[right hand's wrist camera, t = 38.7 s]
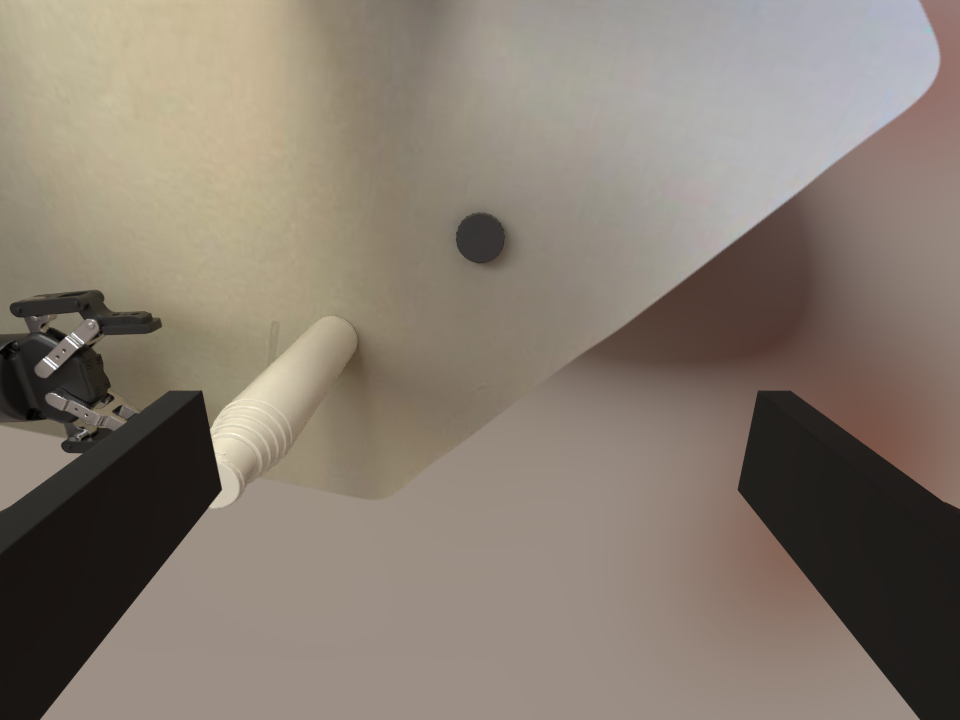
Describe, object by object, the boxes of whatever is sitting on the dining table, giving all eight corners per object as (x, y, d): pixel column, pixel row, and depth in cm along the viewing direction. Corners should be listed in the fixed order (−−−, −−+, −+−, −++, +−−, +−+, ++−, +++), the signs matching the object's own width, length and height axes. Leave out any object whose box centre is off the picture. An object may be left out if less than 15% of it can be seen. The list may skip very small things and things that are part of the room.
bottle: (306, 314, 52) (157, 444, 28) (356, 316, 52) (250, 447, 28) (310, 361, 53) (172, 520, 29) (358, 363, 53) (260, 523, 30)
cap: (494, 266, 50) (495, 269, 48) (450, 251, 49) (449, 254, 48) (510, 221, 48) (511, 223, 47) (465, 205, 48) (464, 206, 46)
